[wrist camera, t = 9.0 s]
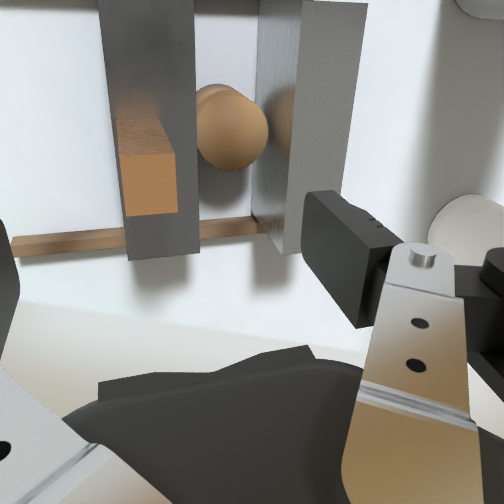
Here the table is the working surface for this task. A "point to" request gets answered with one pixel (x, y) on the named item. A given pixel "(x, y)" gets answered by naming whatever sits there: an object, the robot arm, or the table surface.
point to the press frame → (121, 237)
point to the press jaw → (154, 122)
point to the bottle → (468, 229)
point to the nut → (229, 127)
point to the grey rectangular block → (303, 107)
